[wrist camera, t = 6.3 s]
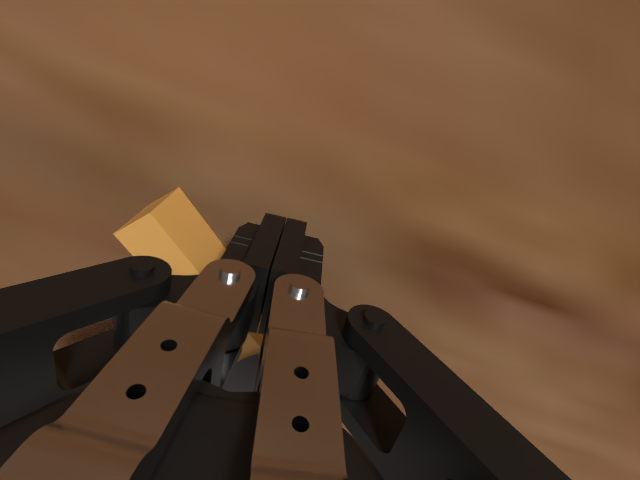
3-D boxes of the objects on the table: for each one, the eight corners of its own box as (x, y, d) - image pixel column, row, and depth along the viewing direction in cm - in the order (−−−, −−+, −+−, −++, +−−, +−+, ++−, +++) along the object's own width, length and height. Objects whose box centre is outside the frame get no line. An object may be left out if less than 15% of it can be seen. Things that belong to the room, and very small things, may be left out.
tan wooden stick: (354, 357, 16) (359, 421, 14) (272, 388, 17) (260, 454, 15) (221, 160, 12) (188, 192, 10) (125, 216, 14) (70, 259, 11)
